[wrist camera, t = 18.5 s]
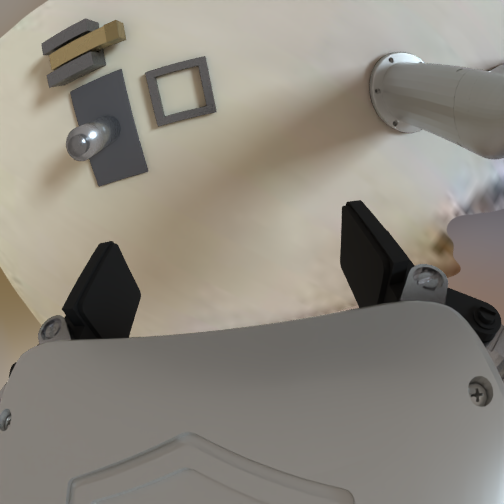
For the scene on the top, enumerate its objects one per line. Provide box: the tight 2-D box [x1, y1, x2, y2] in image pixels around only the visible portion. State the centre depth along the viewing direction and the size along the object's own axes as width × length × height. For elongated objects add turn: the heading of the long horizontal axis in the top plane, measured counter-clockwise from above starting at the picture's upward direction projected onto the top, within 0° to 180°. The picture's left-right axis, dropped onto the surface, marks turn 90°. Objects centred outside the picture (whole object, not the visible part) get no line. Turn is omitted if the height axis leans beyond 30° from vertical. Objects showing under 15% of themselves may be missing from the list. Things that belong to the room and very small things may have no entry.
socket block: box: [42, 18, 106, 88], centre depth 22 cm, size 7×7×4 cm
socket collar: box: [145, 56, 217, 126], centre depth 29 cm, size 8×8×1 cm
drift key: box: [49, 20, 126, 70], centre depth 22 cm, size 10×3×3 cm, turn 99°
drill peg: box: [66, 115, 121, 161], centre depth 27 cm, size 4×4×9 cm
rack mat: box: [70, 69, 148, 186], centre depth 31 cm, size 8×15×1 cm, turn 9°
